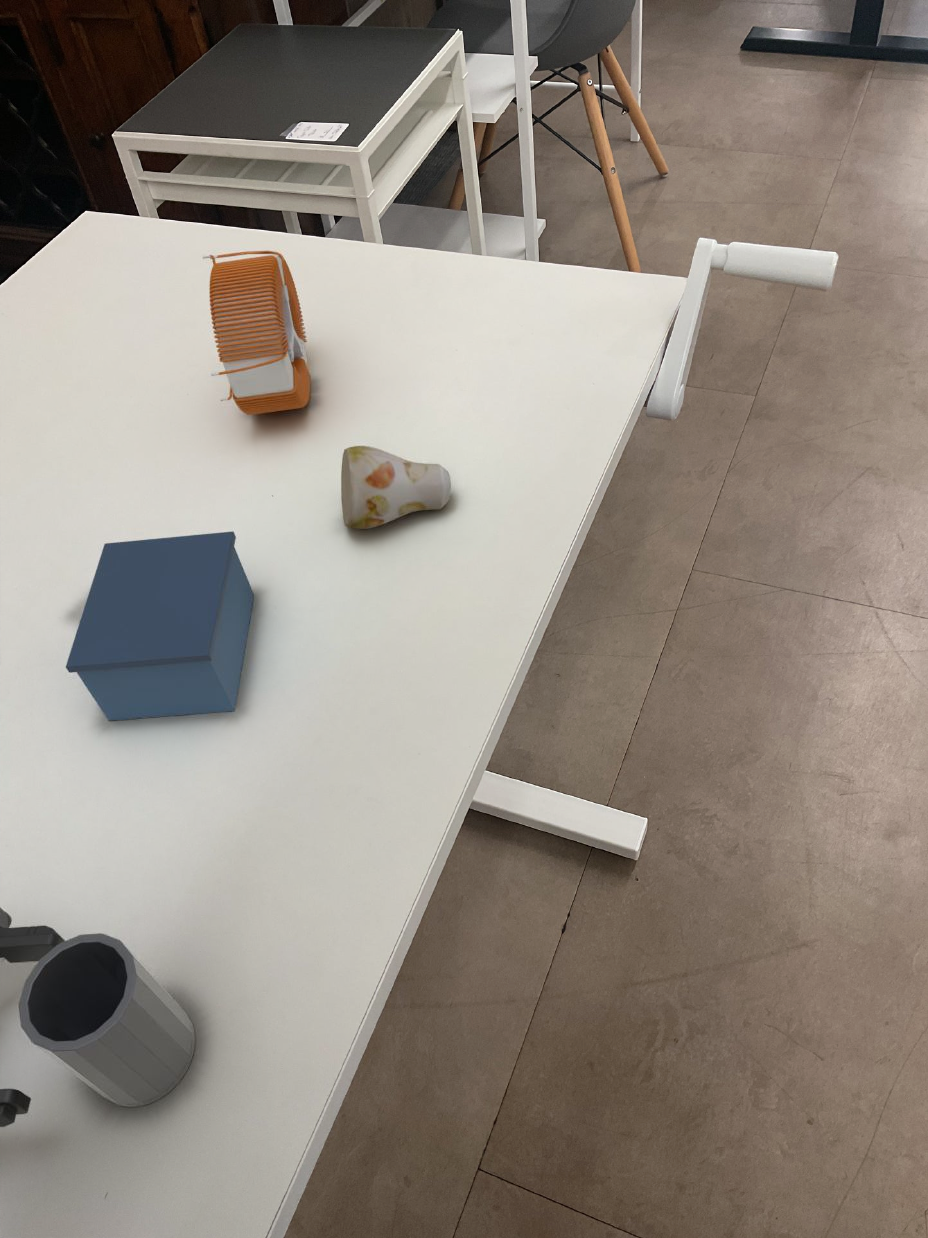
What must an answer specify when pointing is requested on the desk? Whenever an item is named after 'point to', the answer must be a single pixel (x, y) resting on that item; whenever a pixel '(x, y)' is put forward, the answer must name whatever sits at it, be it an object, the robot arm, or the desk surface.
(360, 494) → the patterned salt shaker
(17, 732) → the desk surface
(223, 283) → the coil
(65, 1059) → the cup
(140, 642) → the container
